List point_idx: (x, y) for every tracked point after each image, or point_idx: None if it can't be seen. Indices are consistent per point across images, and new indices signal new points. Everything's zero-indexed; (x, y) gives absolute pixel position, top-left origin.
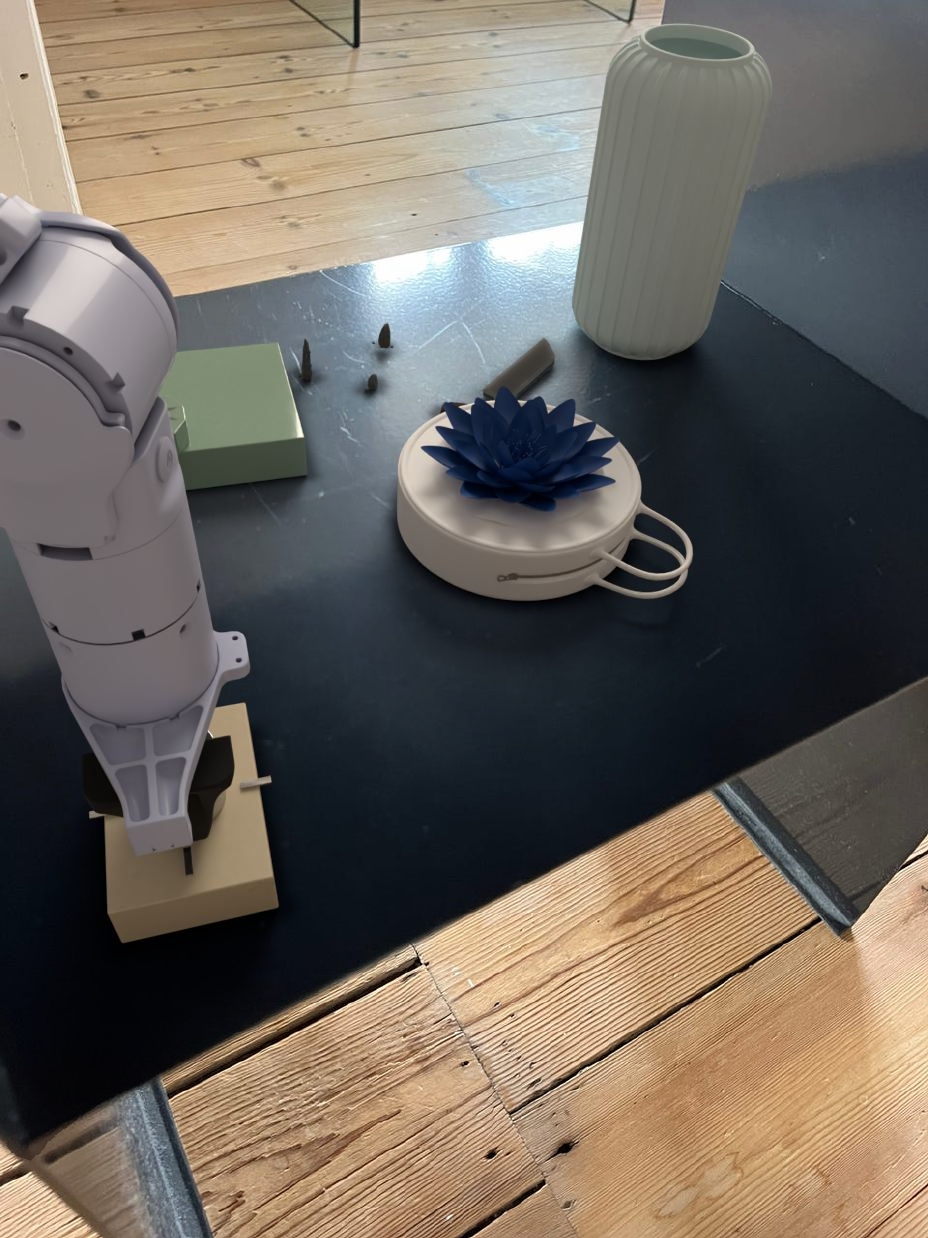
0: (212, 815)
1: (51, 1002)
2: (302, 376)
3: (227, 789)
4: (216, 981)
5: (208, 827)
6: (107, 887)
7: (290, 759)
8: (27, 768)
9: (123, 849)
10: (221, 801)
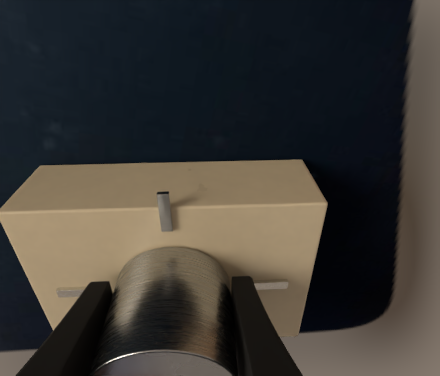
0: (270, 324)
1: (310, 315)
2: None
3: (169, 243)
4: (352, 219)
5: (259, 298)
6: None
7: (79, 117)
8: None
9: None
10: (199, 262)
